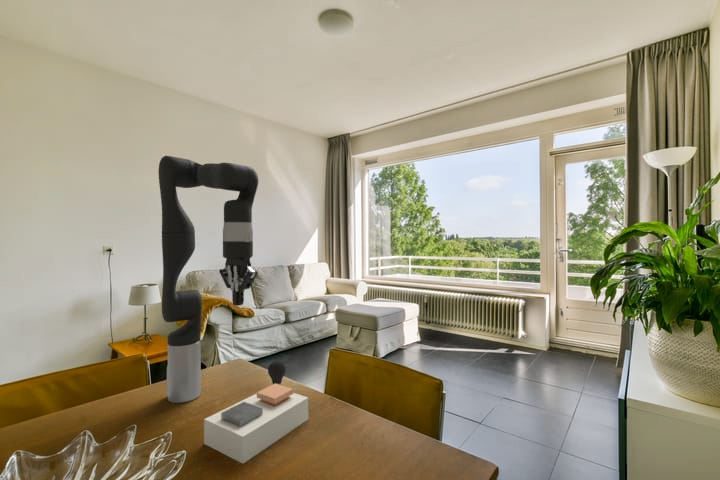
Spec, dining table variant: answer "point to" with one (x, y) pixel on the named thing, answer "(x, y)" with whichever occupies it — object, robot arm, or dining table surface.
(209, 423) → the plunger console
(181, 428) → the dining table surface
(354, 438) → the dining table surface
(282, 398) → the terracotta plunger
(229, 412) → the graphite plunger
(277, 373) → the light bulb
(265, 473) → the dining table surface
